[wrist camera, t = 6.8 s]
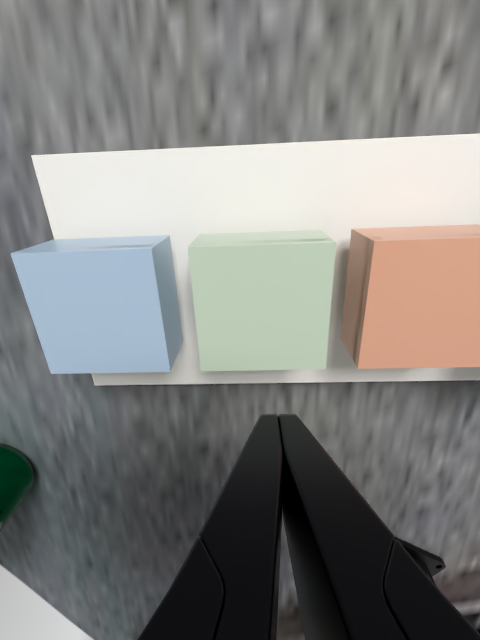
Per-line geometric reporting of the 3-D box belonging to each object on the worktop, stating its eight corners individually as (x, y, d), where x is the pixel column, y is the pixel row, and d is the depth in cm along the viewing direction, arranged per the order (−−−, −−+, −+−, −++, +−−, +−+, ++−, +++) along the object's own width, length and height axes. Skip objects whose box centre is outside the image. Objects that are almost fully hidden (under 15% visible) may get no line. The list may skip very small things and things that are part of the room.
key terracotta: (478, 224, 13) (531, 236, 11) (449, 335, 15) (488, 366, 13) (351, 228, 14) (374, 241, 11) (340, 337, 16) (357, 369, 13)
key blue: (169, 235, 14) (151, 248, 11) (183, 340, 16) (170, 372, 13) (54, 239, 14) (10, 253, 12) (82, 342, 16) (51, 373, 14)
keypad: (648, 127, 13) (788, 109, 10) (546, 370, 18) (615, 416, 15) (42, 156, 14) (-24, 150, 11) (100, 377, 19) (67, 421, 16)
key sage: (320, 229, 14) (336, 242, 11) (313, 338, 16) (325, 369, 13) (199, 234, 14) (187, 247, 11) (209, 340, 16) (200, 371, 13)
